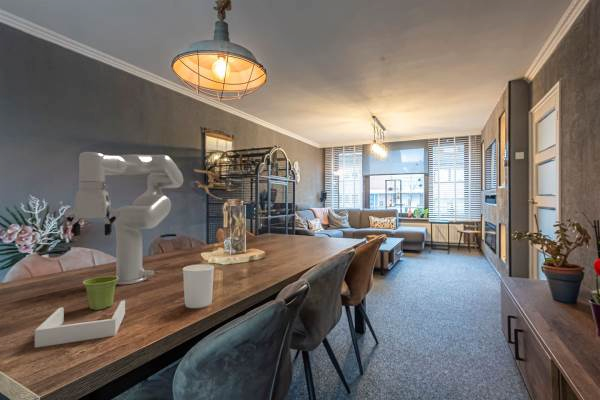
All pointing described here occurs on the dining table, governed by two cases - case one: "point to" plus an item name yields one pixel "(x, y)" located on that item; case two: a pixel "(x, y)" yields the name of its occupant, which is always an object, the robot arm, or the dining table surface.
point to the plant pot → (100, 291)
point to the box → (76, 328)
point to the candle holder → (198, 285)
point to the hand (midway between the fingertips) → (92, 235)
